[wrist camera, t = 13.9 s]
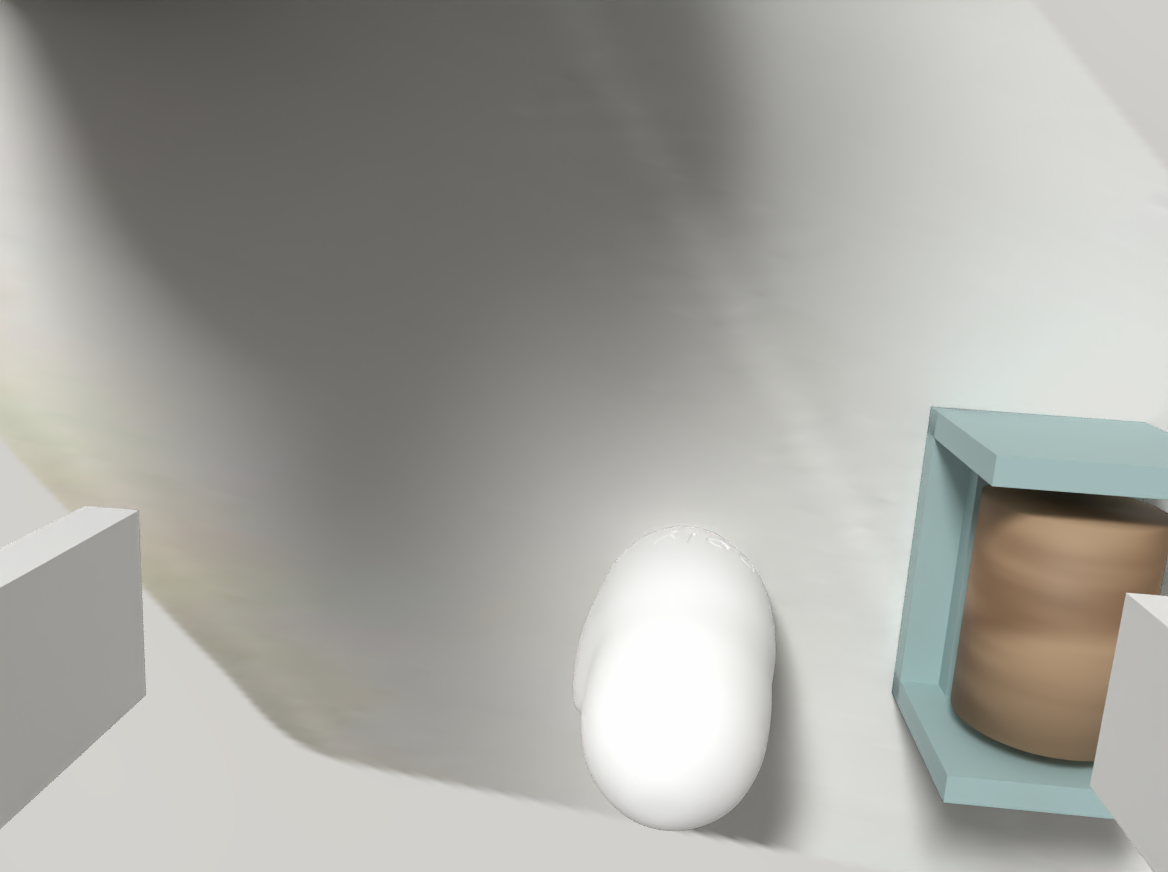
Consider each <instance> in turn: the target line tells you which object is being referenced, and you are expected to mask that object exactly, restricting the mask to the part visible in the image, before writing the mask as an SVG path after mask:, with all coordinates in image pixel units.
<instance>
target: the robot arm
mask: <svg viewBox="0 0 1168 872" xmlns="http://www.w3.org/2000/svg"><path fill="white" fill-rule="evenodd" d="M145 695H146V684H145V659H144V633H143V609H142V581H141V555H140V529H139V510H129V509H117V508H105V507H93V506H84V507H82V508H80V509H78V510H76V511H74V512H72V513H70V514H68V515H66V516H64V517H62V518H60V519H58V520H56V521H54V522H52V523H50V524H48V525H46V526H44V527H42V528H40V529H38V530H36V531H34V532H32V533H30V534H28V535H26V536H24V537H22V538H20V539H18V540H16V541H14V542H12V543H10V544H8V545H6V546H4V547H2V548H0V829H1V828H2V827H3V826H4V825H5V824H6V823H7V822H8V821H10V820H11V819H12V818H13V817H14V816H15V815H16V814H17V813H18V812H19V811H20V810H21V809H23V808H24V807H25V806H26V805H27V804H28V803H29V802H30V801H31V800H32V799H33V798H35V797H36V796H37V795H38V794H39V793H40V792H41V791H42V790H43V789H44V788H45V787H47V785H49V784H50V783H51V782H52V781H53V780H54V779H55V778H56V777H57V776H58V775H60V774H61V773H62V772H63V771H64V770H65V769H66V768H67V767H68V766H69V765H70V764H71V763H73V762H74V761H75V760H76V759H77V758H78V757H79V756H80V755H81V754H82V753H83V752H85V751H86V750H87V749H88V748H89V747H90V746H91V745H92V744H93V743H94V742H95V741H96V740H98V739H99V738H100V737H101V736H102V735H103V734H104V733H105V732H106V731H107V730H108V729H110V728H111V727H112V726H113V725H114V724H115V723H116V722H117V721H118V720H119V719H120V718H121V717H123V715H124V714H126V713H127V712H128V711H129V710H130V709H131V708H132V707H133V706H134V705H136V704H137V703H138V702H139V701H140V700H141V699H142V698H143V697H144V696H145ZM1090 787H1091V788H1092V789H1093V791H1094V792H1095V793H1096V795H1097V796H1098V797H1099V799H1100V800H1101V801H1102V803H1103V804H1104V806H1105V807H1106V808H1107V810H1108V811H1109V812H1110V814H1111V815H1112V816H1113V818H1114V819H1115V820H1116V822H1117V823H1118V824H1119V826H1120V827H1121V829H1122V830H1123V831H1124V833H1125V834H1126V835H1127V837H1128V838H1129V839H1130V841H1131V842H1132V843H1133V845H1134V846H1135V848H1136V849H1137V850H1138V852H1139V853H1140V854H1141V856H1142V857H1143V858H1144V860H1145V861H1146V862H1147V864H1148V865H1149V866H1150V868H1151V869H1152V871H1153V872H1168V596H1160V595H1148V594H1136V593H1126V596H1125V601H1124V607H1123V612H1122V617H1121V623H1120V628H1119V633H1118V638H1117V644H1116V649H1115V654H1114V660H1113V665H1112V670H1111V676H1110V681H1109V686H1108V691H1107V697H1106V702H1105V707H1104V713H1103V718H1102V723H1101V729H1100V734H1099V739H1098V745H1097V750H1096V755H1095V760H1094V766H1093V771H1092V776H1091V782H1090Z"/></svg>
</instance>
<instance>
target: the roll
mask: <svg viewBox="0 0 1168 872" xmlns="http://www.w3.org/2000/svg"><path fill="white" fill-rule="evenodd" d="M1167 555H1168V513H1166V512H1165V511H1163V510H1161V509H1159V508H1157V507H1155V506H1153V505H1151V504H1148V503H1145V502H1143V501H1140V500H1137V499H1133V498H1130V497H1125V496H1112V495H1099V494H1086V493H1073V492H1060V491H1047V490H1034V489H1021V488H1008V487H996V486H991V485H990V484H988V485H986V486H984V487H983V488H982V492H981V498H980V505H979V512H978V518H977V525H976V531H975V538H974V545H973V551H972V558H971V564H970V571H969V578H968V584H967V591H966V597H965V604H964V611H963V617H962V624H961V630H960V637H959V644H958V650H957V657H956V663H955V670H954V677H953V683H952V690H951V696H950V701H951V705H952V707H953V709H954V711H955V712H956V714H957V715H958V716H959V717H960V718H961V719H962V720H963V721H965V722H966V723H967V724H968V725H970V726H971V727H972V728H974V729H975V730H977V731H979V732H980V733H982V734H984V735H986V736H988V737H990V738H992V739H994V740H996V741H998V742H1001V743H1003V744H1005V745H1008V746H1011V747H1013V748H1016V749H1019V750H1022V751H1026V752H1029V753H1033V754H1037V755H1041V756H1046V757H1051V758H1056V759H1064V760H1074V761H1094V760H1095V755H1096V750H1097V745H1098V739H1099V734H1100V729H1101V723H1102V718H1103V713H1104V707H1105V702H1106V697H1107V691H1108V686H1109V681H1110V676H1111V670H1112V665H1113V660H1114V654H1115V649H1116V644H1117V638H1118V633H1119V628H1120V623H1121V617H1122V612H1123V607H1124V601H1125V596H1126V593H1136V594H1148V595H1160V591H1161V586H1162V581H1163V576H1164V571H1165V565H1166V560H1167Z"/></svg>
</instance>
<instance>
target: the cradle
mask: <svg viewBox="0 0 1168 872" xmlns="http://www.w3.org/2000/svg"><path fill="white" fill-rule="evenodd" d="M988 484H990V485H991V486H996V487H1008V488H1021V489H1034V490H1047V491H1060V492H1073V493H1086V494H1099V495H1112V496H1125V497H1130V498H1133V499H1137V500H1140V501H1143V500H1144V498H1151V499H1164V500H1168V432H1166V431H1163V430H1161V429H1159V428H1157V427H1154V426H1152V425H1150V424H1147V423H1145V422H1133V421H1119V420H1105V419H1092V418H1078V417H1064V416H1050V415H1036V414H1022V413H1009V412H995V411H981V410H967V409H953V408H940V407H931V410H930V418H929V425H928V432H927V440H926V447H925V454H924V461H923V469H922V476H921V483H920V490H919V498H918V505H917V512H916V519H915V527H914V534H913V541H912V549H911V556H910V563H909V570H908V578H907V585H906V592H905V599H904V607H903V614H902V621H901V629H900V636H899V643H898V650H897V658H896V665H895V672H894V679H893V687H892V694H893V696H894V698H895V700H896V702H897V705H898V707H899V709H900V711H901V713H902V715H903V717H904V720H905V722H906V724H907V726H908V728H909V730H910V732H911V734H912V737H913V739H914V741H915V743H916V745H917V747H918V749H919V752H920V754H921V756H922V758H923V760H924V762H925V764H926V767H927V769H928V771H929V773H930V775H931V777H932V779H933V782H934V784H935V786H936V788H937V790H938V792H939V794H940V796H941V799H942V801H943V802H944V803H954V804H964V805H974V806H985V807H995V808H1005V809H1015V810H1025V811H1036V812H1046V813H1056V814H1066V815H1077V816H1087V817H1097V818H1107V819H1114V818H1113V816H1112V815H1111V814H1110V812H1109V811H1108V810H1107V808H1106V807H1105V806H1104V804H1103V803H1102V801H1101V800H1100V799H1099V797H1098V796H1097V795H1096V793H1095V792H1094V791H1093V789H1092V788H1091V787H1090V782H1091V776H1092V771H1093V766H1094V761H1074V760H1064V759H1056V758H1051V757H1046V756H1041V755H1037V754H1033V753H1029V752H1026V751H1022V750H1019V749H1016V748H1013V747H1011V746H1008V745H1005V744H1003V743H1001V742H998V741H996V740H994V739H992V738H990V737H988V736H986V735H984V734H982V733H980V732H979V731H977V730H975V729H974V728H972V727H971V726H970V725H968V724H967V723H966V722H965V721H963V720H962V719H961V718H960V717H959V716H958V715H957V714H956V712H955V711H954V709H953V707H952V705H951V701H950V696H951V690H952V683H953V677H954V670H955V663H956V657H957V650H958V644H959V637H960V630H961V624H962V617H963V611H964V604H965V597H966V591H967V584H968V578H969V571H970V564H971V558H972V551H973V545H974V538H975V531H976V525H977V518H978V512H979V505H980V498H981V492H982V488H983V487H984V486H986V485H988Z"/></svg>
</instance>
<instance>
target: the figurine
mask: <svg viewBox="0 0 1168 872" xmlns="http://www.w3.org/2000/svg"><path fill="white" fill-rule="evenodd" d="M775 659H776V638H775V627H774V620H773V614H772V609H771V605H770V602H769V598H768V595H767V593H766V590H765V587H764V585H763V583H762V581H761V579H760V577H759V575H758V573H757V572H756V570H755V568H754V567H753V566H752V564H751V563H750V561H749V560H748V559H747V558H746V557H745V556H744V554H743V553H742V552H741V551H740V550H739V549H737V548H736V547H735V546H734V545H733V544H731V543H730V542H729V541H727V540H726V539H724V538H722V537H720V536H719V535H717V534H715V533H712V532H710V531H707V530H704V529H700V528H695V527H686V526H679V527H670V528H665V529H661V530H658V531H655V532H653V533H650V534H648V535H646V536H644V537H642V538H641V539H639V540H638V541H636V542H635V543H633V544H632V545H631V546H630V547H629V548H627V549H626V550H625V551H624V552H623V553H622V554H621V556H620V557H619V558H618V559H617V560H616V562H615V563H614V565H613V566H612V568H611V569H610V571H609V573H608V575H607V577H606V579H605V581H604V583H603V585H602V587H601V589H600V591H599V593H598V595H597V597H596V599H595V601H594V603H593V606H592V608H591V610H590V612H589V614H588V617H587V619H586V622H585V624H584V627H583V630H582V633H581V636H580V640H579V644H578V649H577V655H576V661H575V668H574V677H573V697H574V703H575V707H576V709H577V710H578V711H579V712H580V713H581V714H582V715H581V739H582V747H583V752H584V756H585V760H586V764H587V767H588V769H589V772H590V774H591V776H592V778H593V780H594V782H595V784H596V785H597V787H598V788H599V790H600V791H601V793H602V794H603V795H604V796H605V798H606V799H607V800H608V801H609V802H610V803H611V804H612V805H613V806H614V807H615V808H616V809H618V810H619V811H620V812H621V813H622V814H624V815H625V816H626V817H628V818H629V819H631V820H633V821H635V822H637V823H639V824H641V825H644V826H647V827H650V828H654V829H658V830H666V831H684V830H690V829H694V828H698V827H702V826H704V825H707V824H709V823H712V822H714V821H716V820H718V819H719V818H721V817H723V816H724V815H726V814H727V813H728V812H730V811H731V810H732V809H733V808H734V807H735V806H736V805H737V804H738V803H739V802H740V801H741V800H742V799H743V797H744V796H745V795H746V793H747V792H748V790H749V789H750V787H751V786H752V784H753V782H754V781H755V779H756V777H757V775H758V773H759V771H760V768H761V766H762V763H763V760H764V756H765V752H766V748H767V743H768V737H769V731H770V724H771V713H772V682H773V676H774V670H775Z"/></svg>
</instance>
